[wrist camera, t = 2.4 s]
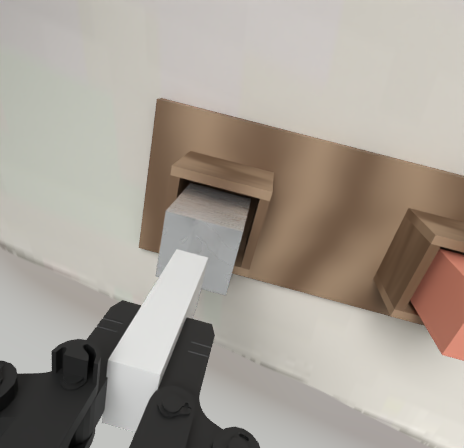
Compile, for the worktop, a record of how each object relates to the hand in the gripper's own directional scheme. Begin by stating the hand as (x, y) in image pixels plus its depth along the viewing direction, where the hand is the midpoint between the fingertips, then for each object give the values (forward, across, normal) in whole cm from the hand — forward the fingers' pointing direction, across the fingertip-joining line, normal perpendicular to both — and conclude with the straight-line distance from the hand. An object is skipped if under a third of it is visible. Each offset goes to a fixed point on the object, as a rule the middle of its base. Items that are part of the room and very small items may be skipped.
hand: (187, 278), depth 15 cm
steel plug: (+7, 0, 0) cm, 7 cm away
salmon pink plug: (+7, +16, 0) cm, 17 cm away
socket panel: (+12, +8, 0) cm, 14 cm away
